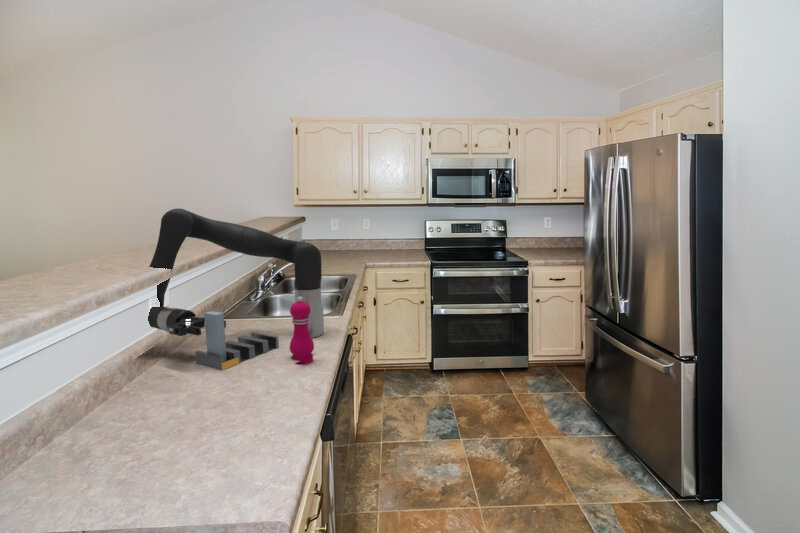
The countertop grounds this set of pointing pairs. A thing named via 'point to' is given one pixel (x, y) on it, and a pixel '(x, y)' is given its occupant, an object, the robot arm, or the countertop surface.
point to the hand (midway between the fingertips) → (212, 327)
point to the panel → (215, 333)
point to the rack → (239, 351)
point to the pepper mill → (301, 333)
